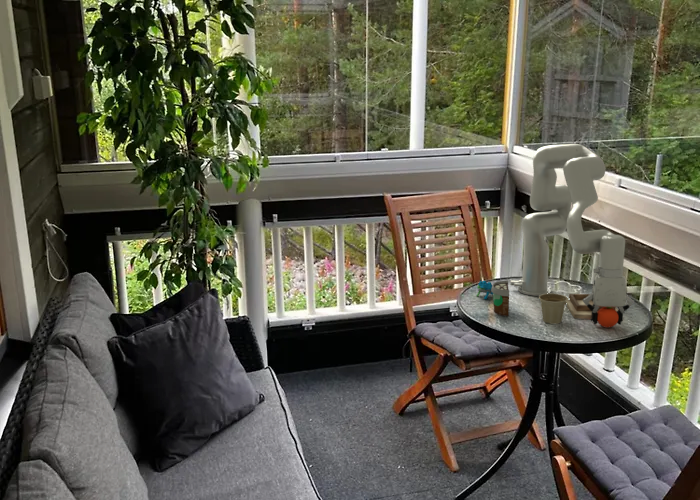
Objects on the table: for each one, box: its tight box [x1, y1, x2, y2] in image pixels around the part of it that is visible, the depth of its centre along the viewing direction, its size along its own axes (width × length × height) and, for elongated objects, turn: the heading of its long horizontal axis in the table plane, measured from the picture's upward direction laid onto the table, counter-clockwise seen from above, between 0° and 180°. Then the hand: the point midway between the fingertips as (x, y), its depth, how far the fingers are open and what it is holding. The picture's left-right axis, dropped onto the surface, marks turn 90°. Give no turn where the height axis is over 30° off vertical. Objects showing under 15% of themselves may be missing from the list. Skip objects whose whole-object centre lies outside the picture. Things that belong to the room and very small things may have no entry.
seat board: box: [566, 293, 618, 320], centre depth 225 cm, size 16×20×4 cm
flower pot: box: [538, 292, 568, 325], centre depth 214 cm, size 9×9×9 cm
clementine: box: [597, 307, 619, 328], centre depth 208 cm, size 8×7×7 cm
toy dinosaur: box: [476, 280, 493, 301], centre depth 240 cm, size 11×6×10 cm
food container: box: [491, 280, 510, 317], centre depth 225 cm, size 12×6×10 cm, turn 168°
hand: (606, 322), depth 209 cm, fingers closed on clementine, 7 cm apart
